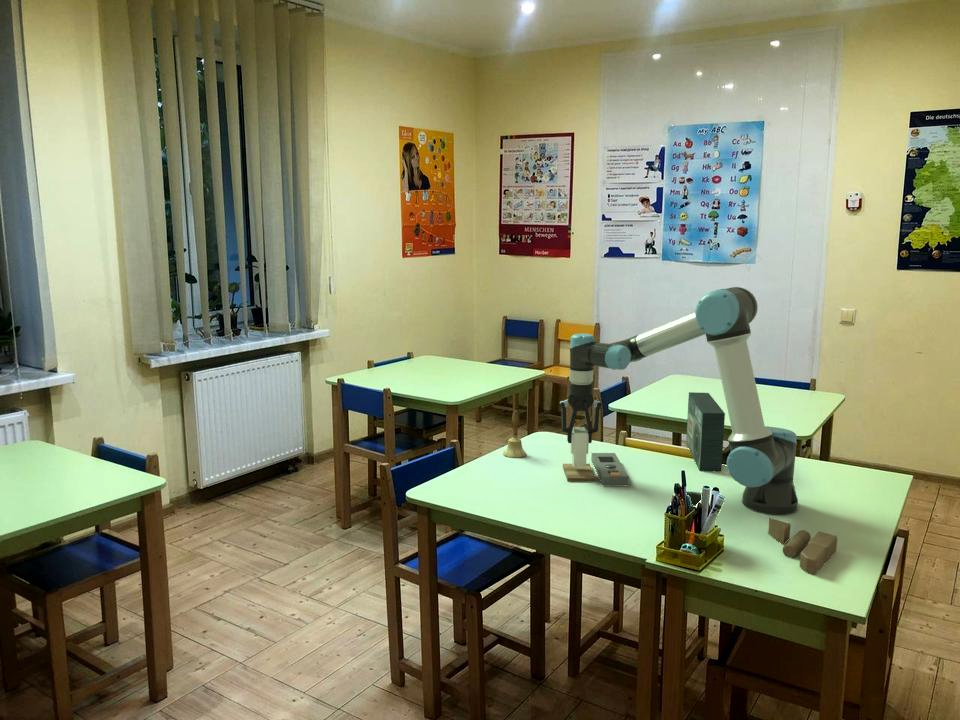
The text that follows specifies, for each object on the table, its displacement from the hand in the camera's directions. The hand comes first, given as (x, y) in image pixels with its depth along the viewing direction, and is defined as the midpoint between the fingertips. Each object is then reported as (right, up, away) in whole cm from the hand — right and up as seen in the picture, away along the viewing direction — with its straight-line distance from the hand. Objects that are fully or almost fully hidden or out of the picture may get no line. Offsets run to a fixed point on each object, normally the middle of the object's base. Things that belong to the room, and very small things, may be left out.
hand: (579, 452), depth 242 cm
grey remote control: (+10, -7, +2) cm, 12 cm away
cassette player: (+46, -4, +18) cm, 49 cm away
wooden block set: (+46, -19, -56) cm, 74 cm away
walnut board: (0, -7, +1) cm, 7 cm away
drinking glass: (+22, -17, -50) cm, 57 cm away
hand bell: (-20, -4, +22) cm, 30 cm away
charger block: (0, -4, +1) cm, 4 cm away
